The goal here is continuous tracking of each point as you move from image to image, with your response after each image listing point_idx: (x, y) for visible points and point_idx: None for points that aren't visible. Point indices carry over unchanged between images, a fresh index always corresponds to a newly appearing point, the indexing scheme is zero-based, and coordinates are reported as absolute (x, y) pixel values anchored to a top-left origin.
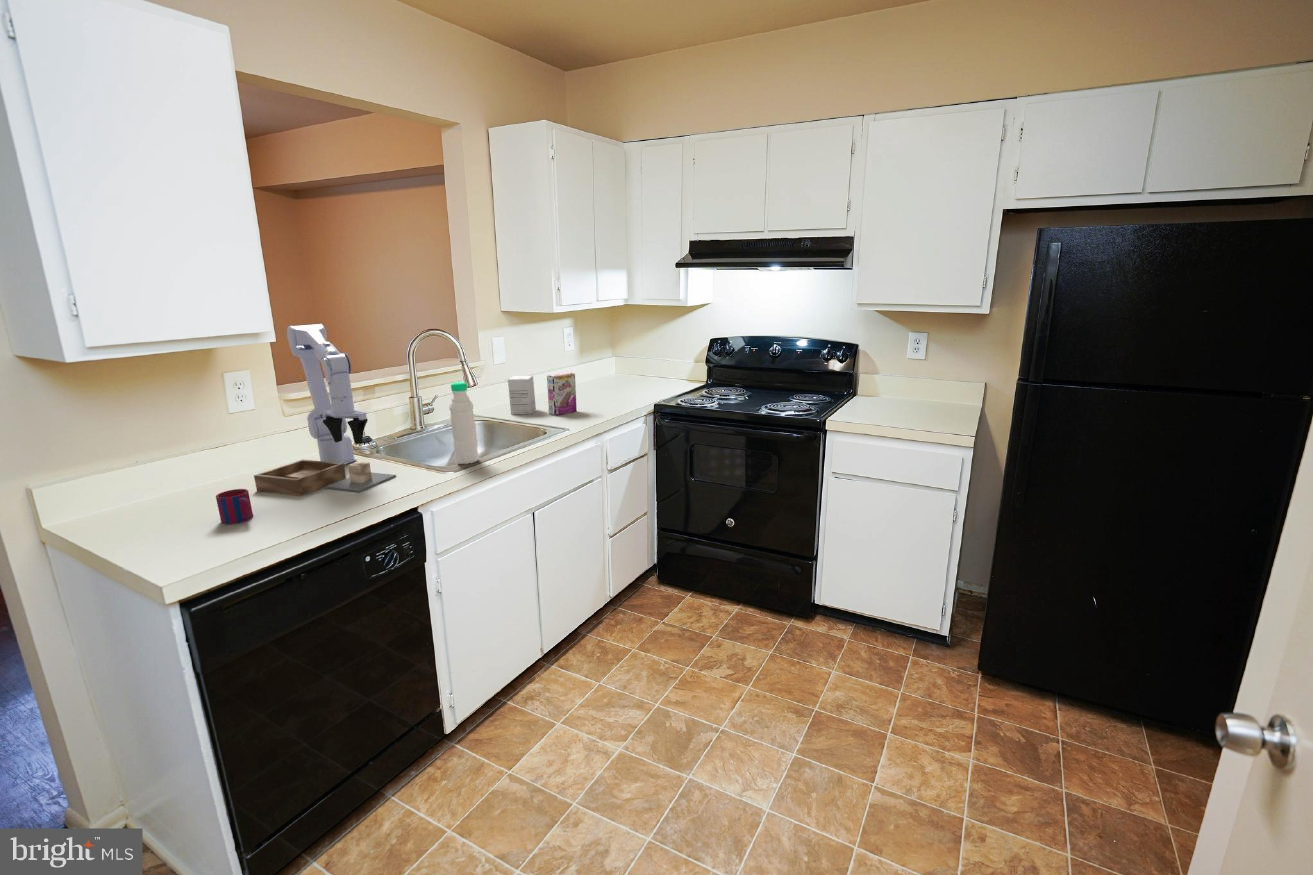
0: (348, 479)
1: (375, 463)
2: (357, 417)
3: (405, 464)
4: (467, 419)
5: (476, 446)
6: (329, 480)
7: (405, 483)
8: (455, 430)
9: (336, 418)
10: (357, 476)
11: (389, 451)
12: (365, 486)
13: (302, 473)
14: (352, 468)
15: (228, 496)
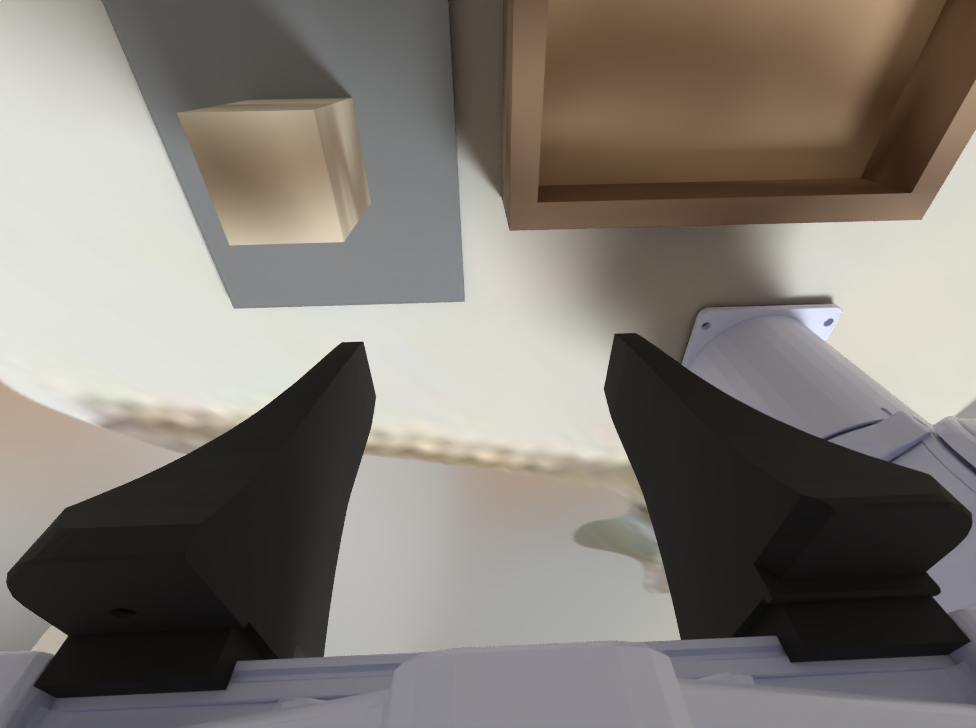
0: (423, 148)
1: (541, 421)
2: (137, 708)
3: (391, 443)
4: None
5: None
6: (505, 42)
7: (53, 226)
8: None
9: (729, 627)
10: (257, 103)
11: (601, 525)
12: (140, 40)
13: (810, 65)
14: (272, 109)
15: None
